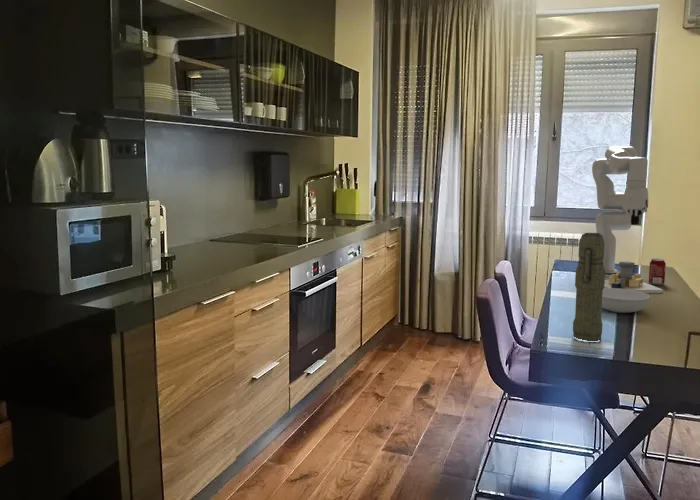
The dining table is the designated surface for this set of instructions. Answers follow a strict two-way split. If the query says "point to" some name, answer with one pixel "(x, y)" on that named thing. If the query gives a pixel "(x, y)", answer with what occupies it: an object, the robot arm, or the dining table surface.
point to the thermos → (589, 288)
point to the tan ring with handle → (626, 280)
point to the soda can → (657, 271)
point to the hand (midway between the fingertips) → (634, 224)
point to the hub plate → (626, 273)
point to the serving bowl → (624, 300)
